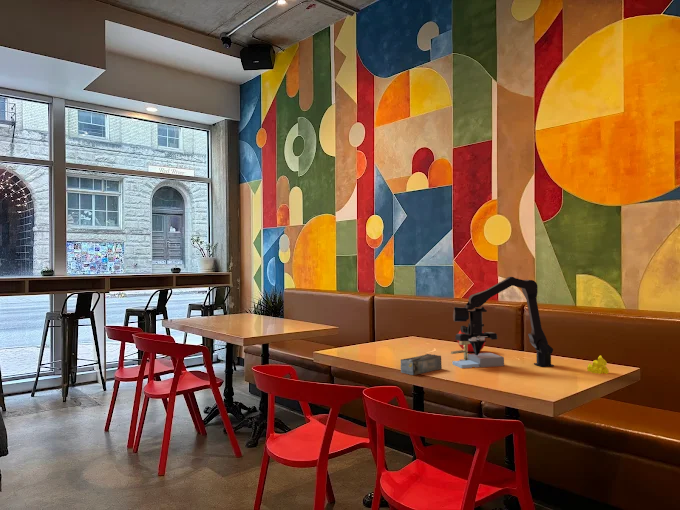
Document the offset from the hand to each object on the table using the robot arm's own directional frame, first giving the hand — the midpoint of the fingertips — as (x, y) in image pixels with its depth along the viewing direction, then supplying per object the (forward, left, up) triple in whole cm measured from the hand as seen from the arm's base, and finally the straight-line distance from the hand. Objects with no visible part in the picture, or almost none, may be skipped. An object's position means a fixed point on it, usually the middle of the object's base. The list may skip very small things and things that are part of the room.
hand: (476, 355), depth 240 cm
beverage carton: (-5, +29, -5) cm, 30 cm away
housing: (+4, -4, -5) cm, 8 cm away
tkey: (+10, +3, -4) cm, 11 cm away
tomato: (+33, -14, -5) cm, 36 cm away
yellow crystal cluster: (-27, -43, -5) cm, 51 cm away
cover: (0, +6, -5) cm, 8 cm away
